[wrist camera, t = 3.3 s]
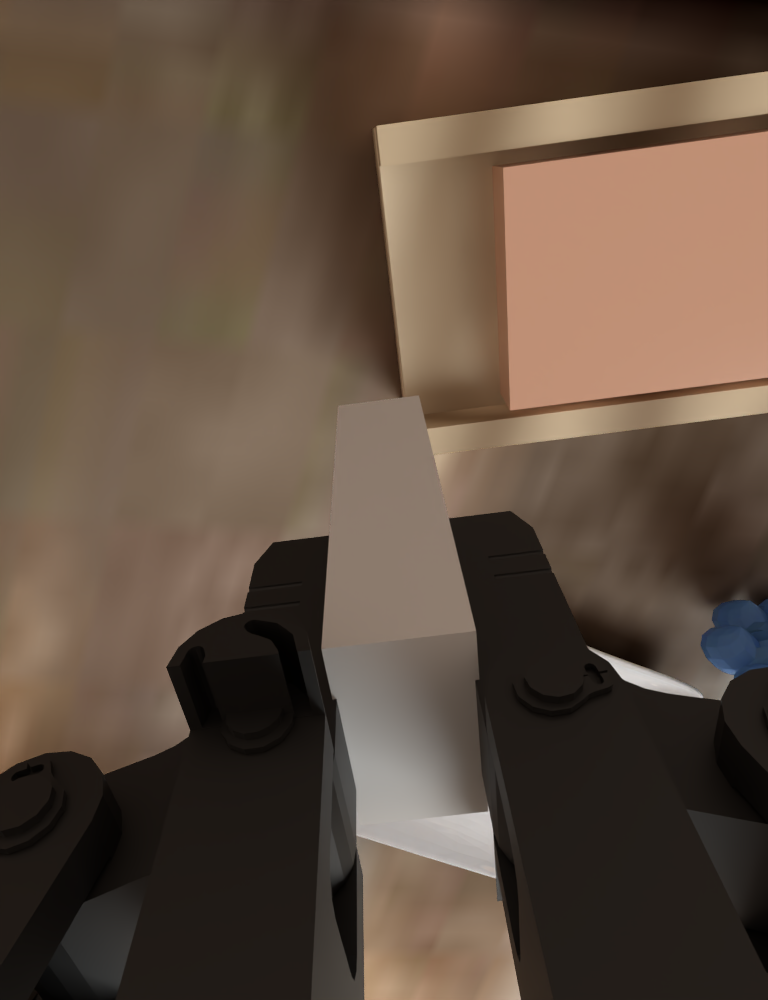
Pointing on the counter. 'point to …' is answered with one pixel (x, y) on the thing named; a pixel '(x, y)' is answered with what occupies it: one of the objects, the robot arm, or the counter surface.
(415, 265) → the box
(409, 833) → the salad plate
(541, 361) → the block
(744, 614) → the grapes
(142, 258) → the counter surface
